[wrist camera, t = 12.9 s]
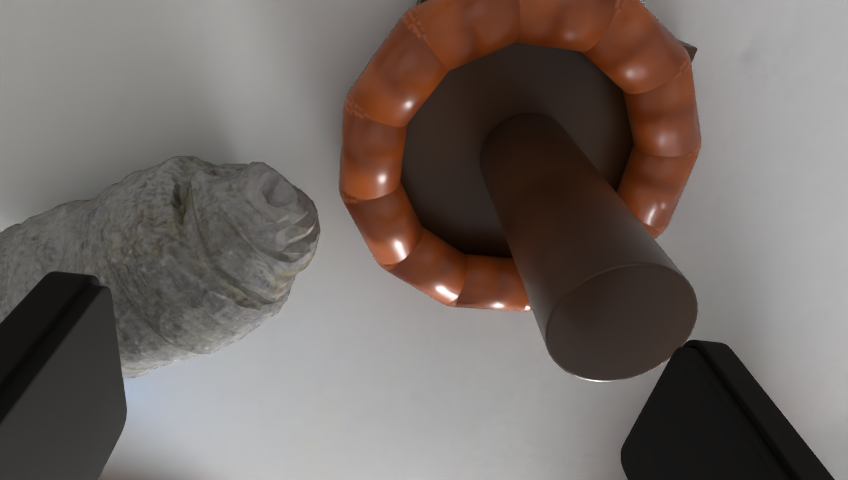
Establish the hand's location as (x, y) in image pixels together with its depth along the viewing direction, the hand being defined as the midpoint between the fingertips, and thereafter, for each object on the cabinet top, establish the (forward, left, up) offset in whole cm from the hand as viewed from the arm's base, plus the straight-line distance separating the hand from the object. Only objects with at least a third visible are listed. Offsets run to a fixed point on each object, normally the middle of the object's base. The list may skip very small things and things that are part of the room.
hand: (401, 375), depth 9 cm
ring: (-4, 0, -10) cm, 11 cm away
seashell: (+8, +6, -12) cm, 16 cm away
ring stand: (-5, 0, -12) cm, 13 cm away
